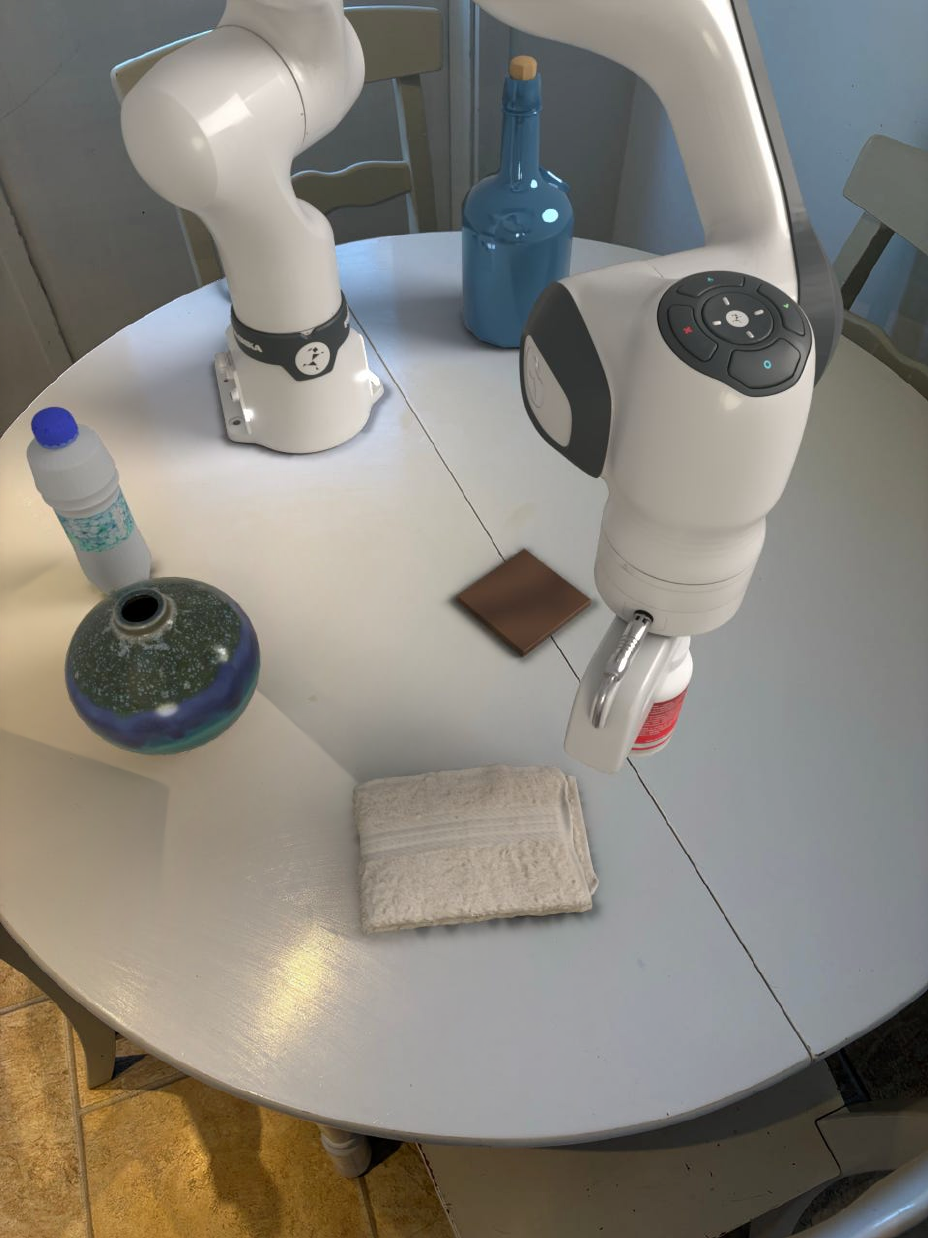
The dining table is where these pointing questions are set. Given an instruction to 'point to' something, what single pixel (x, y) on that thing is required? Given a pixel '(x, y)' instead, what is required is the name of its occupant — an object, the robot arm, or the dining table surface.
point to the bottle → (87, 500)
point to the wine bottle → (514, 221)
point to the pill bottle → (665, 706)
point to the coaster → (523, 601)
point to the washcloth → (471, 847)
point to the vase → (163, 665)
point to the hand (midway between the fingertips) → (638, 692)
